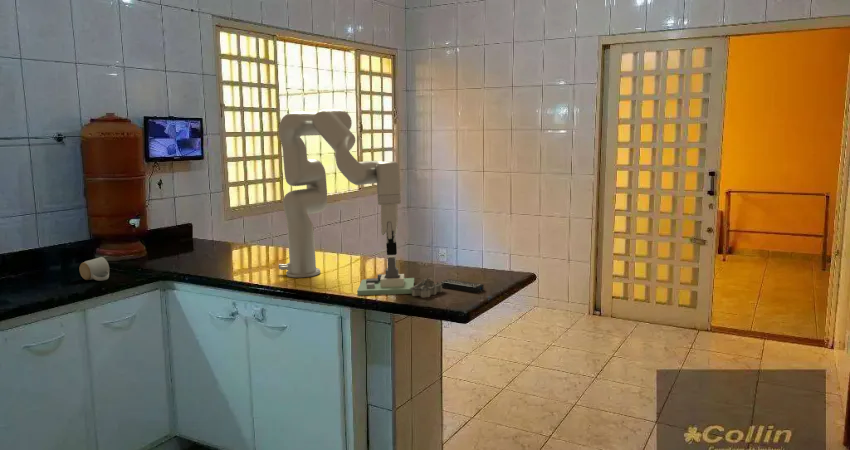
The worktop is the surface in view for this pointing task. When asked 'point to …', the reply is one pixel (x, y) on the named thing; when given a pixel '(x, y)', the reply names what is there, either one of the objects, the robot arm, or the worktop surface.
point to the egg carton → (426, 288)
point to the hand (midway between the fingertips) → (391, 254)
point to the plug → (392, 268)
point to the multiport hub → (463, 286)
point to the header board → (386, 285)
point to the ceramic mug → (95, 269)
